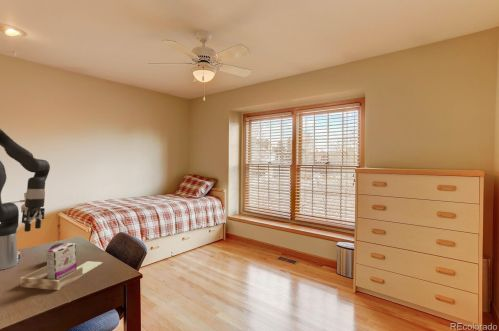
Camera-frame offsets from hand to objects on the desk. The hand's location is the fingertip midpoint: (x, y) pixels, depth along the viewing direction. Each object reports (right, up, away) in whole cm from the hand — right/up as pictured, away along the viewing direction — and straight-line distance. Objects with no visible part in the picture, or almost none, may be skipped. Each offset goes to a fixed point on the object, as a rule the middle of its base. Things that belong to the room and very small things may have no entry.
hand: (32, 229), depth 131 cm
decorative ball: (+5, -21, +12) cm, 24 cm away
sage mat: (+24, -21, +4) cm, 32 cm away
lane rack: (+18, -21, -10) cm, 30 cm away
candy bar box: (+23, -22, -10) cm, 33 cm away
